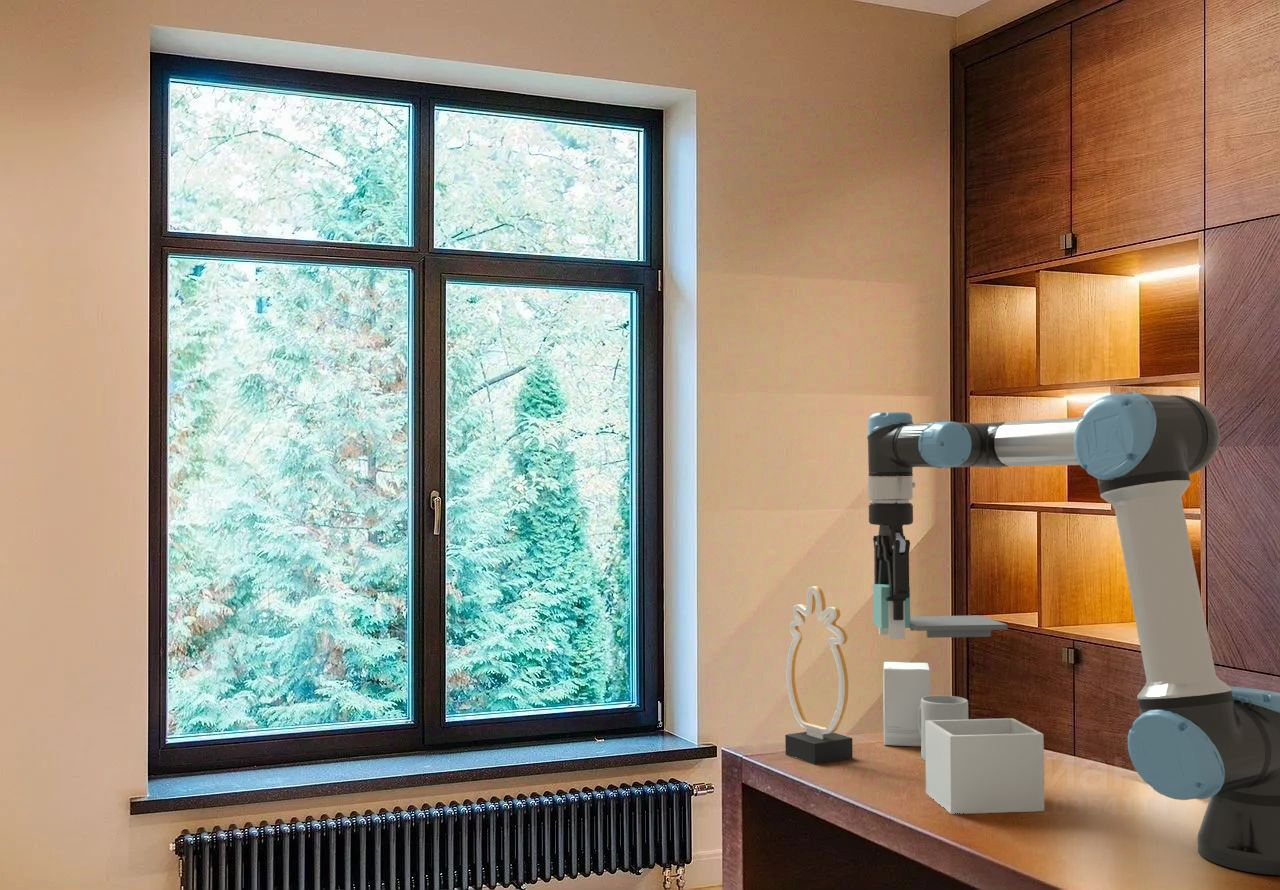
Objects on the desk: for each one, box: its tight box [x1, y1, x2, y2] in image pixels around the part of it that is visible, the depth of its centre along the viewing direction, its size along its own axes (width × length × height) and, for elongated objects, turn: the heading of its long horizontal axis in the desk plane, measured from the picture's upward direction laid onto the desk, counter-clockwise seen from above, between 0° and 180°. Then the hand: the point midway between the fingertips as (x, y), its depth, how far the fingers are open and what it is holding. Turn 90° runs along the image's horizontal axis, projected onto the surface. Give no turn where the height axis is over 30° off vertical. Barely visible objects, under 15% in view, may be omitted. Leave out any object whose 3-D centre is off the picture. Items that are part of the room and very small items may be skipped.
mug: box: [918, 694, 969, 762], centre depth 225 cm, size 12×8×11 cm
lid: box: [872, 583, 1008, 639], centre depth 210 cm, size 13×21×8 cm, turn 95°
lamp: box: [785, 585, 854, 765], centre depth 227 cm, size 17×9×32 cm, turn 30°
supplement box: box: [882, 661, 931, 748], centre depth 238 cm, size 9×9×15 cm
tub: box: [925, 717, 1045, 815], centre depth 195 cm, size 12×15×12 cm
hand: (891, 636), depth 210 cm, fingers closed on lid, 5 cm apart
